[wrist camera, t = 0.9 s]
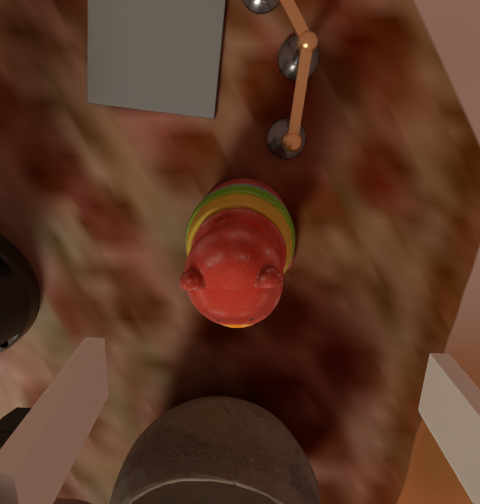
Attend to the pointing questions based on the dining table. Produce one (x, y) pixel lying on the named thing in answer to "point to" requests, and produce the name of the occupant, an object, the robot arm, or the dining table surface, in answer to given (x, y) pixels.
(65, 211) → the dining table surface
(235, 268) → the stacking bear
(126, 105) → the mat
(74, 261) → the dining table surface
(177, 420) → the bowl
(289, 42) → the miniature post railing
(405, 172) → the dining table surface
